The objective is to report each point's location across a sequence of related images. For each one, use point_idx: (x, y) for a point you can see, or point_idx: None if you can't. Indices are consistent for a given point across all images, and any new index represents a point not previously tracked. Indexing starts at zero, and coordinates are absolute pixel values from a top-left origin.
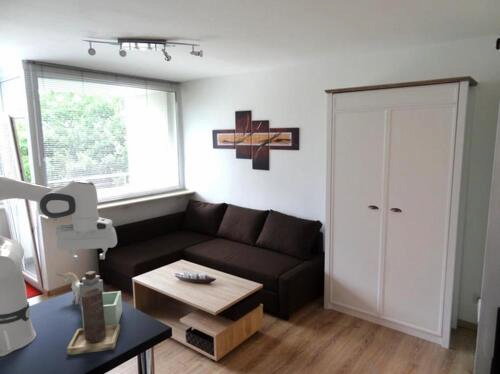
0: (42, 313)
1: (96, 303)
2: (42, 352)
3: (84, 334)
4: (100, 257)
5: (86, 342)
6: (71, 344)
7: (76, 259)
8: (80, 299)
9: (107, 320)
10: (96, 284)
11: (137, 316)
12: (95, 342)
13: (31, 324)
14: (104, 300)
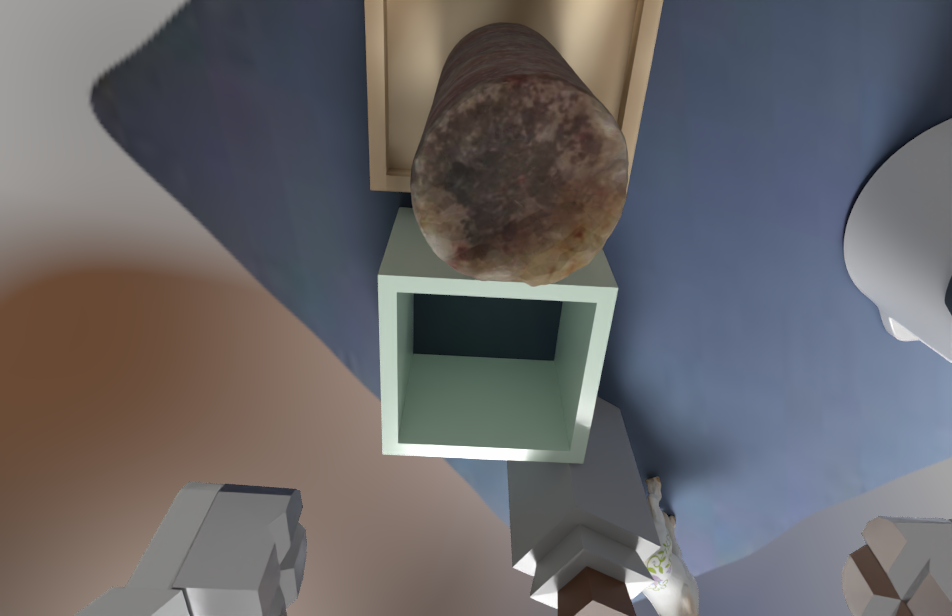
0: (813, 443)
1: (464, 77)
2: (804, 49)
3: None
4: (258, 521)
5: None
6: (644, 19)
7: (915, 546)
8: None
9: None
10: (546, 527)
11: (301, 295)
12: None
13: (904, 270)
14: (490, 413)
